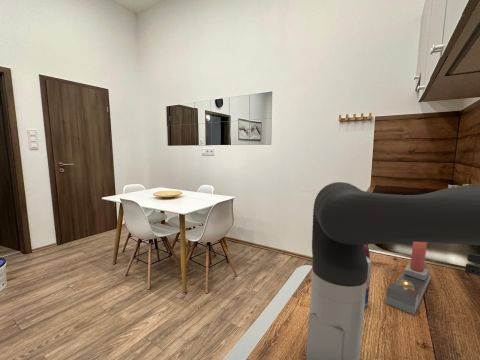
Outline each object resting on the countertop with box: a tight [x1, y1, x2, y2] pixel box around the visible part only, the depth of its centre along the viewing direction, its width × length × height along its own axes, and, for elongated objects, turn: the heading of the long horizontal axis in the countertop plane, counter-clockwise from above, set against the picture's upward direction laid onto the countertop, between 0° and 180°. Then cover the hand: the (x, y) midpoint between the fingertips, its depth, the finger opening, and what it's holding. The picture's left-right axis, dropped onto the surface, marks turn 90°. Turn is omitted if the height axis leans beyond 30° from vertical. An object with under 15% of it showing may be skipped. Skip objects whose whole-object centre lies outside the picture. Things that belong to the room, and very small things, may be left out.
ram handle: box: [403, 242, 429, 281], centre depth 72 cm, size 5×5×17 cm
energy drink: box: [364, 256, 373, 309], centre depth 62 cm, size 5×5×12 cm
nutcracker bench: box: [385, 271, 431, 316], centre depth 68 cm, size 22×6×6 cm, turn 135°
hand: (466, 261), depth 65 cm, fingers open, 8 cm apart
